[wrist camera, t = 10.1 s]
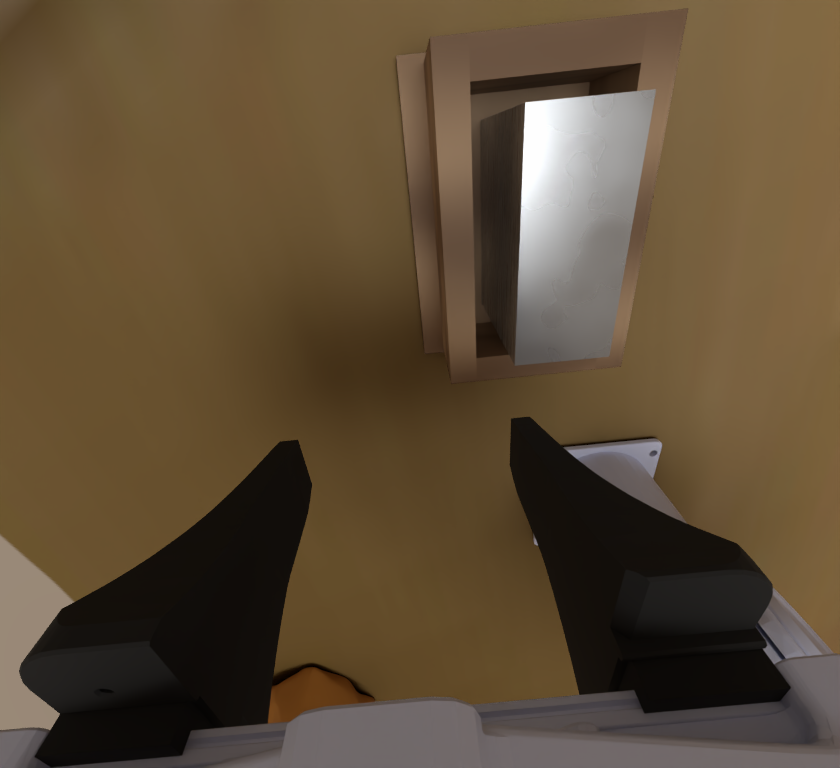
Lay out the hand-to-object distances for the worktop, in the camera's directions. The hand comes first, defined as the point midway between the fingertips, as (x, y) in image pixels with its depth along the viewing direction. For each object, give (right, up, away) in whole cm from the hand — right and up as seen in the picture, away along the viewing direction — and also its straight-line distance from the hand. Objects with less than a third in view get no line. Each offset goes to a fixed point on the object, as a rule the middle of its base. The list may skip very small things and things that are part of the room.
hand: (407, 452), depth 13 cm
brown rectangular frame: (+5, +10, +6) cm, 13 cm away
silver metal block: (+5, +10, +5) cm, 12 cm away
